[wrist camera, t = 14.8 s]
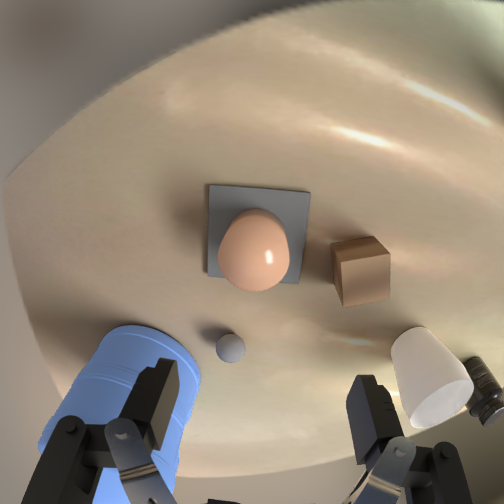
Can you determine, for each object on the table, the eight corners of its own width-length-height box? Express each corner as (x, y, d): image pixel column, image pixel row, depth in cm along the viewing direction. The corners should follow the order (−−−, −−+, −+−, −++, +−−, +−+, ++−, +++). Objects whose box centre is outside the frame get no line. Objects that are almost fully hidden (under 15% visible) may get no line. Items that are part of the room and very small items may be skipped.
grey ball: (218, 326, 35) (213, 345, 32) (247, 329, 35) (245, 348, 32) (218, 348, 37) (213, 367, 33) (245, 351, 37) (243, 370, 33)
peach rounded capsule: (229, 205, 29) (219, 221, 24) (289, 211, 29) (293, 228, 23) (226, 261, 31) (216, 287, 26) (282, 266, 31) (284, 294, 26)
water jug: (85, 331, 38) (-12, 474, 12) (170, 311, 35) (74, 525, 9) (137, 401, 43) (83, 537, 17) (218, 393, 40) (187, 568, 14)
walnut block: (330, 243, 31) (340, 262, 26) (373, 236, 30) (390, 253, 26) (334, 284, 33) (343, 307, 28) (374, 276, 32) (389, 298, 27)
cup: (378, 334, 35) (408, 401, 24) (436, 308, 33) (479, 365, 22) (386, 376, 38) (409, 437, 27) (437, 353, 36) (470, 408, 25)
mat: (210, 184, 29) (209, 185, 28) (309, 192, 29) (310, 193, 28) (208, 274, 33) (207, 276, 32) (298, 281, 33) (298, 284, 32)
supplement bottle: (444, 383, 39) (470, 433, 28) (466, 354, 36) (498, 403, 25) (466, 384, 39) (491, 429, 28) (487, 357, 37) (517, 400, 26)
